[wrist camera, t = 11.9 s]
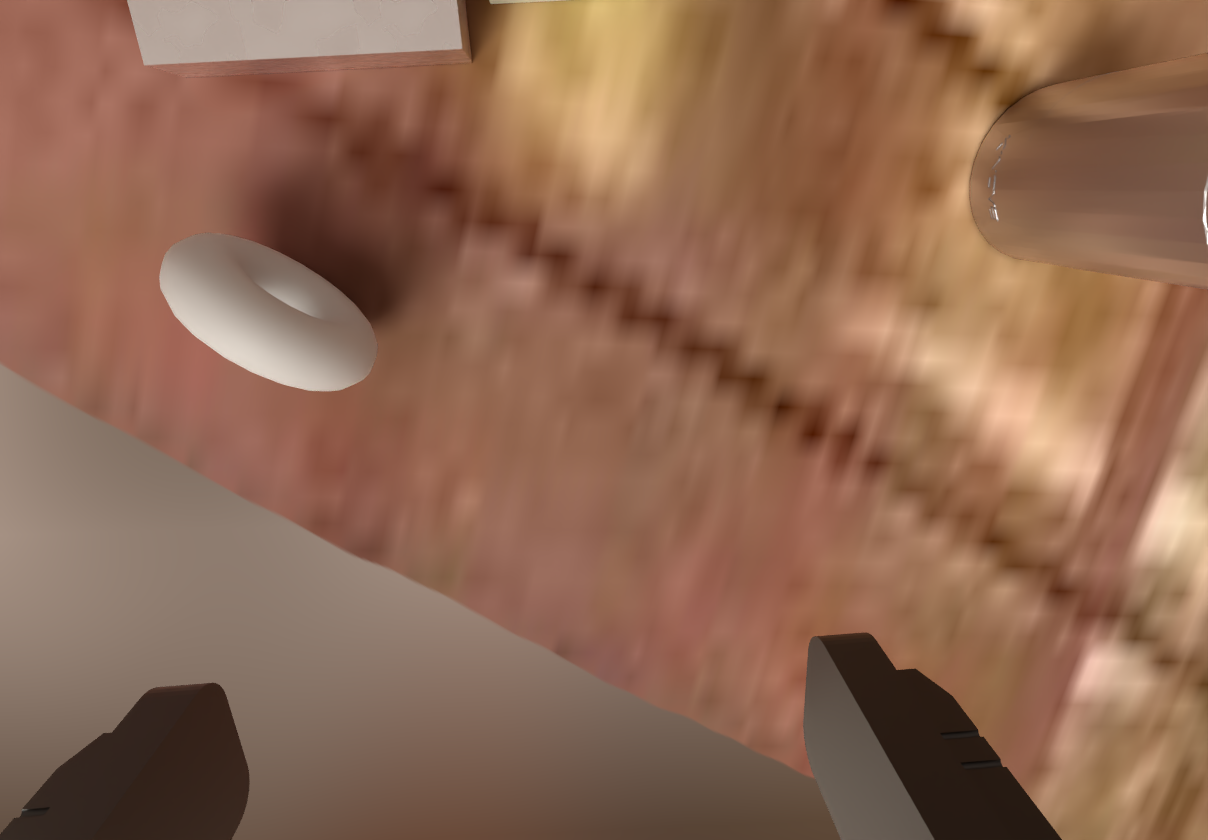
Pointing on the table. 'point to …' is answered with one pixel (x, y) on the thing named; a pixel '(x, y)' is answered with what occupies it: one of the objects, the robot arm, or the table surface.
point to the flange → (298, 35)
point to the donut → (267, 312)
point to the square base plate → (517, 1)
